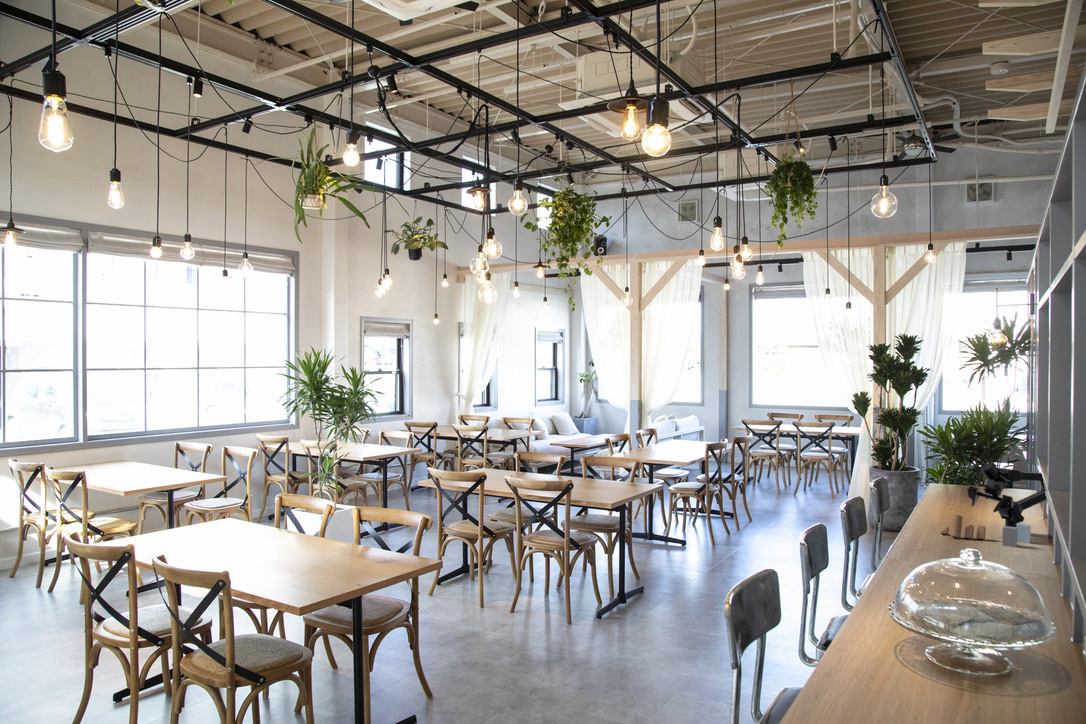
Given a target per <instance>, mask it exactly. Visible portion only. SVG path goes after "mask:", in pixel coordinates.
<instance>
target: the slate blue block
mask: <svg viewBox="0 0 1086 724" xmlns="http://www.w3.org/2000/svg"><path fill="white" fill-rule="evenodd" d="M1016 527H1017V543H1021V542H1024V544H1029V543H1031V542H1030V541H1031V537H1032V536H1031V535H1032V533H1031V530H1032V529H1031V528H1032V527H1031V523H1025V522H1024V523H1023V522H1019V523H1017V524H1016Z"/></svg>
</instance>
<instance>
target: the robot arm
mask: <svg viewBox="0 0 1086 724" xmlns="http://www.w3.org/2000/svg"><path fill="white" fill-rule="evenodd" d="M979 469H980V472H981V473H982V474H983V476H984V477H985V481H984V483H983V486H984V488H983V491H980V489H979V487H975V486H972V485H969V486H968V488H967V496H968V498H969V499H971V500H972V501H971V507H974V506H975V505H976V503H977V502H978V499H979V497H983V498H985V499H986V500H990V501H994V502H998V503H997V504H996V506H995V507H994V508H993V510H992V511H993V513H996V512H998V513H999V515H1000V518H1001V519H1003V520H1004V522H1005V523H1004V526H1009V527H1016V524H1017V523H1023V522H1024V521H1025V517H1024V516H1023V515H1022V513H1023V512H1024V511H1025V510H1027V509H1030V508H1031V507H1034V506H1036V505H1039V504H1041V503H1042V502H1045V501H1047V500H1046V496H1045V489H1044V484H1043V478H1042V474H1041V472H1032V471H1020V470H1016V469H1012V468H1006V467H1005V468H1001V469H998V466H997V465H996V464H995V463H994V462H990V463H987V464H984V465H982V466H981V467H980V468H979ZM1007 481H1008V482H1021V481H1039V482H1040V485H1041V489H1040V490H1039V491H1038V492H1035V493H1032V494H1031V495H1029V496H1028V495H1027V497H1024V498H1021V499H1020V500H1017V501H1014V498H1013V497H1012V496H1009V495H1006V494H1002V493H1003V490H1006V489H1007V490H1008V489H1009V488H1010V485H1009V483H1008V482H1007Z"/></svg>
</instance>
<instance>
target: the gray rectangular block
mask: <svg viewBox="0 0 1086 724" xmlns="http://www.w3.org/2000/svg"><path fill="white" fill-rule="evenodd" d="M1002 546H1003V547H1009V546H1010V547H1011V548H1017V547H1018V542H1017V527H1009V526H1005V525H1003V527H1002ZM1016 546H1017V547H1016Z"/></svg>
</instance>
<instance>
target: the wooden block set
mask: <svg viewBox="0 0 1086 724" xmlns="http://www.w3.org/2000/svg"><path fill="white" fill-rule="evenodd" d="M951 522H952V523H951V531H950V533H951V534H950V537H952V538H953V537H956V538H955V539H961V535H962V528H963V527H962V526H963V516H962V515H960V514H953V515H952V521H951ZM949 530H950V527H949V526H946V527H945V528H944V529H943V530H942V531H940V534H941V535H945V534H948V535H949ZM964 530H965V531H964V538H968V539H967V540H974V533H975V531H974V530H975V526H974V525H972V524H969V525H968V526H965V529H964ZM986 531H987V527H986V525H981V524H978V525H977V527H976V539H977V540H979V539H982V540H981V541H985V540H986Z"/></svg>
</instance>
